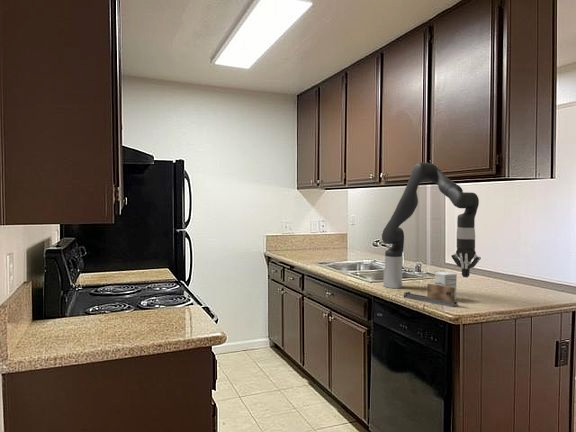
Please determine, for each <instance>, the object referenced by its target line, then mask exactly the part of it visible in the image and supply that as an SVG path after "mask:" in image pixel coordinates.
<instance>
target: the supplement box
mask: <svg viewBox="0 0 576 432" xmlns="http://www.w3.org/2000/svg"><path fill="white" fill-rule="evenodd" d="M457 278H458V276H457V273H452V272H447V271H438V272H434V284H435V285H441V286H448V287H454V288H455V291H454V301H456V300H457Z"/></svg>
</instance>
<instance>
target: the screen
mask: <svg viewBox="0 0 576 432" xmlns="http://www.w3.org/2000/svg"><path fill="white" fill-rule="evenodd" d="M426 287H427V291H426V294H427V298H432V299H437V300H442V301H448V302H453V303H454V301H455V300H454V291H455V288H454V287H448V286H441V285H435V283H434V284H433V283H427V286H426Z"/></svg>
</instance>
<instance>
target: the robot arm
mask: <svg viewBox="0 0 576 432" xmlns="http://www.w3.org/2000/svg"><path fill="white" fill-rule="evenodd" d="M409 175H410V176H409V179H408V181H407V184H406V187H405V189H404V190H403V193H402V195H401V197H400V199H399V201H398V203H397V205H396V208H395V210H394V211H393V212H392V213H393V214H392V216H391V217H390V219H389V220H388V222H387V224H386V225H385V227H384V229H383V231H382V234H381V240H382V242H383V243H384V244H385V245H386V244H387V245H391V247H390V248H388V249H386V250H385V252H384V253H385V254H384V256H385V257H384V269H383V287H386V288H387V289H388V288H389V289H390V288H391V289H401V288H402V287H403V253H404V247H405V232H404V230H403V229H402V228H401V227H400V226H401V225H402V224H403V223H405V222H406V221H407V220H408V219H409V218H411V217H412V216H413V214H414V213H415V211H416V210H417V209H416V208H417V207H418V204H419V197H418V192H417V191H418V188H419V186H420V184H421V183H422V182H426V183H428V182H431V183H434V184H436V185H437V187H438V190H439V191H440V192H441V194H443V195H444V196H445V197H446V198H448V200H450V202H451V203H452V204H453V206H454V207H456V208H458V209H464V212H463V213H461V214H458V215H457V217H456V218H457V221H456V223H457V228H456V252H455V253H454V254H451V255H450V256H451V259H452V260H453V261H454V263H455V264H456V265H457V267H459V268H461V277H463V278H466V279H467V278H469V276H471V275H470V273H471V271H470V269H472V268H475V266H476V265H477V264H478V263H479V262H480V261H481V256H479V255H477V253H476V228H475V222H476V221H475V219H476V215H477V212H478V207H479V203H480V199H479V196H478V195H477V193H475V192H469V191H468V192H464V190H463V188H462V187H461V186H460V185H459V184H457V183H456V182H454V181H453V180H451V179H450V178H448V177H447V176H446V175H445V173H444V172H443V171H441V170H440V168H439V167H438V166H437V165H435V164H433V163H429V162H418V163H416V164H415V165H414V167H413V168H412V170H411V173H410V174H409Z"/></svg>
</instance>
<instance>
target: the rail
mask: <svg viewBox="0 0 576 432" xmlns="http://www.w3.org/2000/svg"><path fill="white" fill-rule="evenodd" d="M403 298H405V299H410V300H416V301H420V302H425V303H431V304H436V305H442V306H445V307H450V308H454V307H458V305H459V304H458V302H457V301H456V300H454V303H453V302H448V301H442V300H437V299H432V298H427V296H426V295H421V294H417V293H415V294H414V293H412V292H411V291H405V292H403Z"/></svg>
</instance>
